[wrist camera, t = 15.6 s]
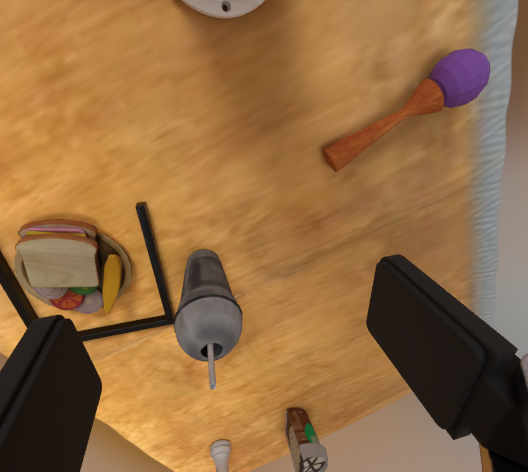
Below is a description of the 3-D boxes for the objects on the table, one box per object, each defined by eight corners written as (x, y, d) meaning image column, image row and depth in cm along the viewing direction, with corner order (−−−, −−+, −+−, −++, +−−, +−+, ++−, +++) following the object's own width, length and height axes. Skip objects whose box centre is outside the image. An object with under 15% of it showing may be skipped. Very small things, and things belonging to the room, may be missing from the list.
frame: (-27, 222, 32) (-35, 226, 31) (145, 201, 35) (144, 205, 34) (43, 343, 41) (40, 350, 40) (175, 317, 44) (175, 323, 43)
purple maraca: (324, 140, 32) (496, 29, 29) (312, 138, 38) (456, 44, 35) (347, 185, 34) (510, 85, 32) (333, 176, 40) (470, 90, 37)
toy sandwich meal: (21, 300, 37) (0, 327, 33) (17, 204, 32) (-8, 222, 28) (127, 308, 41) (120, 333, 37) (139, 224, 36) (133, 242, 32)
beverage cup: (184, 289, 42) (183, 433, 25) (169, 247, 38) (156, 382, 21) (233, 277, 43) (265, 407, 26) (223, 234, 39) (252, 354, 22)
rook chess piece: (224, 435, 62) (229, 480, 55) (233, 444, 64) (239, 487, 57) (205, 445, 62) (208, 491, 55) (215, 453, 64) (219, 498, 57)
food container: (309, 429, 69) (327, 479, 60) (284, 436, 67) (299, 488, 59) (313, 398, 63) (333, 448, 54) (286, 404, 62) (302, 457, 53)
